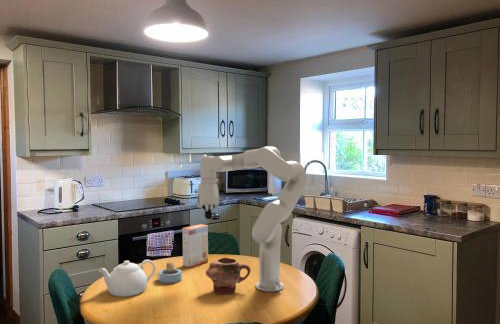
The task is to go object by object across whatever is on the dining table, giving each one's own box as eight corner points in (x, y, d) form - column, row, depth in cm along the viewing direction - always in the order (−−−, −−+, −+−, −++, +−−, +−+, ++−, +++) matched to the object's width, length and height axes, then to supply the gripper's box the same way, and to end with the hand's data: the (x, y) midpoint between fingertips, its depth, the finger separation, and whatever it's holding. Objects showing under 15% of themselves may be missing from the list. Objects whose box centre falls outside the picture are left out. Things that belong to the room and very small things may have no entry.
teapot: (137, 300, 178) (137, 268, 178) (98, 296, 182) (97, 265, 181) (156, 285, 197) (156, 256, 196) (119, 282, 200) (119, 254, 200)
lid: (178, 279, 203) (178, 264, 203) (165, 281, 200) (165, 266, 200) (174, 275, 209) (174, 261, 208) (161, 277, 206) (161, 262, 205)
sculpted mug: (247, 284, 198) (247, 255, 197) (253, 294, 186) (253, 262, 185) (204, 287, 194) (204, 257, 193) (207, 297, 182) (207, 265, 181)
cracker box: (200, 260, 238) (200, 223, 238) (208, 262, 235) (208, 224, 234) (182, 265, 228) (181, 227, 227) (189, 268, 224) (189, 228, 223)
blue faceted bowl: (184, 281, 202) (184, 273, 202) (162, 284, 197) (162, 276, 197) (177, 275, 211) (177, 267, 211) (156, 278, 207) (156, 270, 206)
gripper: (219, 180, 213) (219, 216, 214) (191, 181, 207) (191, 218, 207) (225, 181, 207) (225, 218, 208) (196, 182, 200) (196, 221, 201)
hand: (208, 218), depth 208 cm, fingers closed
